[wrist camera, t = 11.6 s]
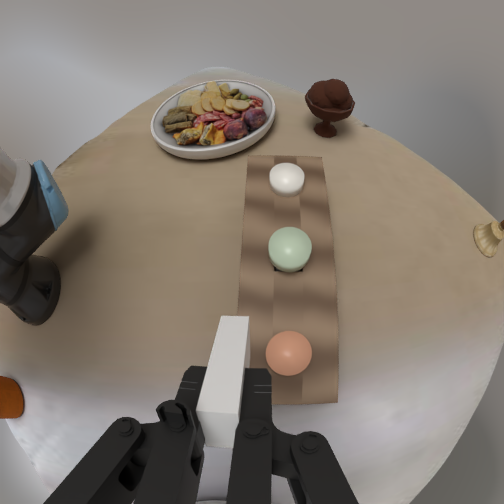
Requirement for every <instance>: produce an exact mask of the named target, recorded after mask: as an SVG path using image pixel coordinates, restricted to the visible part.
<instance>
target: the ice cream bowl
mask: <svg viewBox="0 0 504 504" xmlns="http://www.w3.org/2000/svg"><path fill="white" fill-rule="evenodd" d="M305 100H306V103H307V105H308V107H309V109H310V110H311V112H312V113H313V114H314V115H315V116H316V117H318V118H320V119H322V120H323V122H321V123H318V124H316V126H315V128H314V130H315V132H316V134H318V135H320V136H322V137H327V138H330V137H333V136H335V135H336V132H337V131H336V129H335V127H334V126H333V125H331V124H330V122H336V121H339V120H342V119H345V118H348V117H349V116H350V115H351V113H352V111H353V108H354V105H355V102H354V101H353V98H352V96H351V95H350V93H349V89H348V87H347V85H346V84H345V83H344V82H342V81H340V80H337V79H330V80H327V81H319V82H316V83H314V85H313V86H312V87H311V89H310V90H309V91H308V92H307V94H306V95H305Z"/></svg>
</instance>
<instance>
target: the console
mask: <svg viewBox="0 0 504 504" xmlns="http://www.w3.org/2000/svg"><path fill="white" fill-rule="evenodd" d="M280 163H292V164H295V165H297V166H298V167H300V168H301V169H302V171H303V172H304V184H303V189H302V191H301V192H300V193H299V194H298V195H296V196H293V197H282V196H279V195H277V194H275V193H274V192H273V191H272V190H271V188H270V171H271V169H272V168H273V167H274V166H276V165H278V164H280ZM284 227H295V228H298V229H300V230H302V231H303V232H305V233H306V234H307V235H308V237H309V238H310V241H311V245H312V249H311V253H310V257H309V260H308V262H307V264H306V265H305V266H304V267H303V268H302V269H301V272H282V271H274V265H273V264H272V263H271V261H270V259H269V240H270V238H271V236H272V235H273V233H274V232H276V231H277V230H279V229H281V228H284ZM237 316H249V328H250V365H249V368H267V369H268V371H269V373H270V374H271V376H272V404H321V403H337V402H338V311H337V291H336V275H335V262H334V250H333V239H332V229H331V220H330V212H329V204H328V196H327V188H326V181H325V175H324V168H323V162H322V157H308V156H248V165H247V178H246V192H245V206H244V221H243V235H242V250H241V266H240V282H239V298H238V315H237ZM284 331H295V332H298V333H300V334H302V335H303V336H304V337H306V339H307V340H308V341H309V343H310V345H311V349H312V357H311V360H310V363H309V365H308V366H307V367H306V368H305V369H304V370H303V371H302V372H300V373H298V374H296V375H291V376H285V375H281V374H278V373H276V372H275V371H273V370H272V369H271V368H270V366H269V365H268V363H267V360H266V348H267V345H268V343H269V341H270V340H271V339H272V338H273V337H274V336H275V335H277V334H278V333H280V332H284Z"/></svg>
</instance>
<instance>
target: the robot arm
mask: <svg viewBox="0 0 504 504" xmlns="http://www.w3.org/2000/svg"><path fill="white" fill-rule="evenodd" d="M67 216H68V206H67V204H66V201H65V199H64V197H63V195H62V193H61V191H60V189H59V187H58V186H57V184H56V182H55V180H54V178H53V177H52V175H51V173H50V171H49V170H48V168H47V167H46V165H45V164H44V162H43V161H41V160H38V161H37V162H34V163H33V165H32V166H31V165H30V164H29V163H28V161H26V160H25V159H22V158H18V159H14V160H12V159H11V158H10V157H9V156H8V155H7V154H6V153H5V152H4V151H3V150H2V149H1V148H0V303H2V304H4V305H6V306H8V307H9V308H10V309H11V310H12V311H13V312H14V313H15V314H16V315H17V316H18V317H19V318H20V319H21V320H22V321H24V322H26V323H28V324H31V325H39V324H42V323H43V322H45V321H46V320H47V319H48V318H49V317H50V315H51V314H52V312H53V311H54V309H55V306H56V304H57V301H58V298H59V293H60V275H59V271H58V269H57V267H56V265H55V264H54V263H53V262H51V261H50V260H48V259H47V258H45V257H42V256H36V255H32V254H33V253H34V252H35V251H36V249H37V248H38V247H39V246H40V245H41V244H42V243H43V242H44V241H45V240H46V239H47V238H49V237H50V236H51V235H52V234H53V233H54V232H55V231H56V230H57V228H58V227H59V226H60V225H61V224H62V223H63V222H64V220H65V219H66V218H67ZM249 365H250V328H249V316H221V319H220V323H219V326H218V330H217V334H216V337H215V341H214V344H213V348H212V352H211V356H210V359H209V363H208V367H202V366H190V367H189V368H188V370H187V371H186V372H185V373H184V375H183V378H182V382H181V384H180V387H179V390H178V392H177V395H176V398H175V400H168V401H165V402H163V403H161V404H160V405H159V406H158V407H157V409H156V412H157V414H158V416H159V419H160V421H159V422H156V423H146V424H140V423H139V422H138V421H137V420H136V419H134V418H131V417H122V418H119V419H117V420H116V421H115V422H113V423H112V425H111V426H110V427H109V428H108V429H107V430H106V432H105V433H104V434H103V435H102V436H101V437H100V439H99V440H98V441H97V442H96V443H95V444H94V446H93V447H92V448H91V449H90V450H89V451H88V453H87V454H86V455H85V456H84V457H83V458H82V460H81V461H80V462H79V463H78V464H77V465H76V466H75V468H74V469H73V470H72V471H71V472H70V473H69V475H68V476H67V477H66V478H65V479H64V480H63V482H62V483H61V484H60V485H59V486H58V487H57V488H56V490H55V491H54V492H53V493H52V494H51V495H50V497H49V498H48V499H47V500H46V501H45V502H44V503H43V504H132V502H133V501H134V499H135V501H134V504H196V498H197V493H198V488H199V483H200V477H201V472H202V467H203V462H204V451H203V447H204V443H205V444H206V446H209V447H219V448H232V449H233V454H232V462H231V470H230V478H229V486H228V494H227V502H226V504H271V476H272V474H273V475H277V476H281V477H285V478H287V481H288V484H289V486H290V489H291V492H292V495H293V498H294V501H295V504H359V503H358V501H357V499H356V497H355V495H354V493H353V491H352V489H351V487H350V485H349V483H348V481H347V479H346V477H345V475H344V473H343V471H342V469H341V467H340V465H339V463H338V461H337V459H336V457H335V455H334V453H333V451H332V449H331V447H330V445H329V443H328V441H327V439H326V438H325V437H324V436H323V435H321V434H320V433H317V432H312V431H309V432H303V433H300V434H298V435H297V436H296V435H292V434H288V433H285V432H282V431H280V430H279V429H277V428H276V427H275V426H274V424H273V422H272V376H271V374H270V373H269V371H268V369H267V368H249Z"/></svg>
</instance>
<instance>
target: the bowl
mask: <svg viewBox="0 0 504 504" xmlns="http://www.w3.org/2000/svg"><path fill="white" fill-rule="evenodd" d="M274 117H275V102H274V100H273V98H272V96H271V95H270V94H269V93H268V92H267V91H266V90H265V89H263V88H261V87H260V86H257V85H255V84H252V83H249V82H245V81H239V80H215V81H208V82H204V83H200V84H196V85H193V86H190V87H188V88H186V89H183V90H181V91H179V92H178V93H176V94H174V95H173V96H171V97H170V98H168V99H167V100H166V101H165V102H164V103H162V104H161V106H160V107H159V108H158V109H157V110H156V112H155V114H154V115H153V118H152V121H151V132H152V135H153V137H154V139H155V141H156V142H157V143H158V145H159V146H160V147H161V148H163V149H164V150H165V151H167V152H169V153H171V154H173V155H175V156H178V157H182V158H187V159H213V158H219V157H224V156H228V155H231V154H234V153H237V152H239V151H242V150H244V149H246V148H248V147H249V146H251V145H253V144H254V143H256V142H257V141H258V140H259V139H261V138H262V137H263V136H264V135H265V134H266V133H267V131H268V130H269V128H270V127H271V125H272V123H273V120H274Z"/></svg>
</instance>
